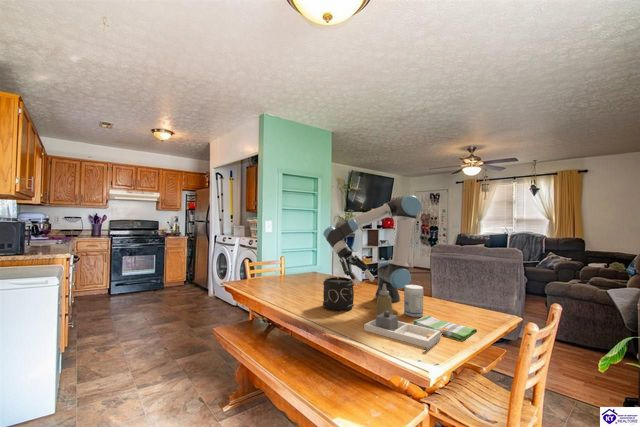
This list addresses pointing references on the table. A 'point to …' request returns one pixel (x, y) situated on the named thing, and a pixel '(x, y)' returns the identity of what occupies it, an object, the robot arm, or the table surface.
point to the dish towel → (452, 331)
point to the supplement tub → (413, 300)
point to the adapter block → (387, 321)
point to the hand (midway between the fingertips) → (366, 282)
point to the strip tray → (407, 333)
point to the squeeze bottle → (383, 301)
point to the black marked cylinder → (338, 294)
